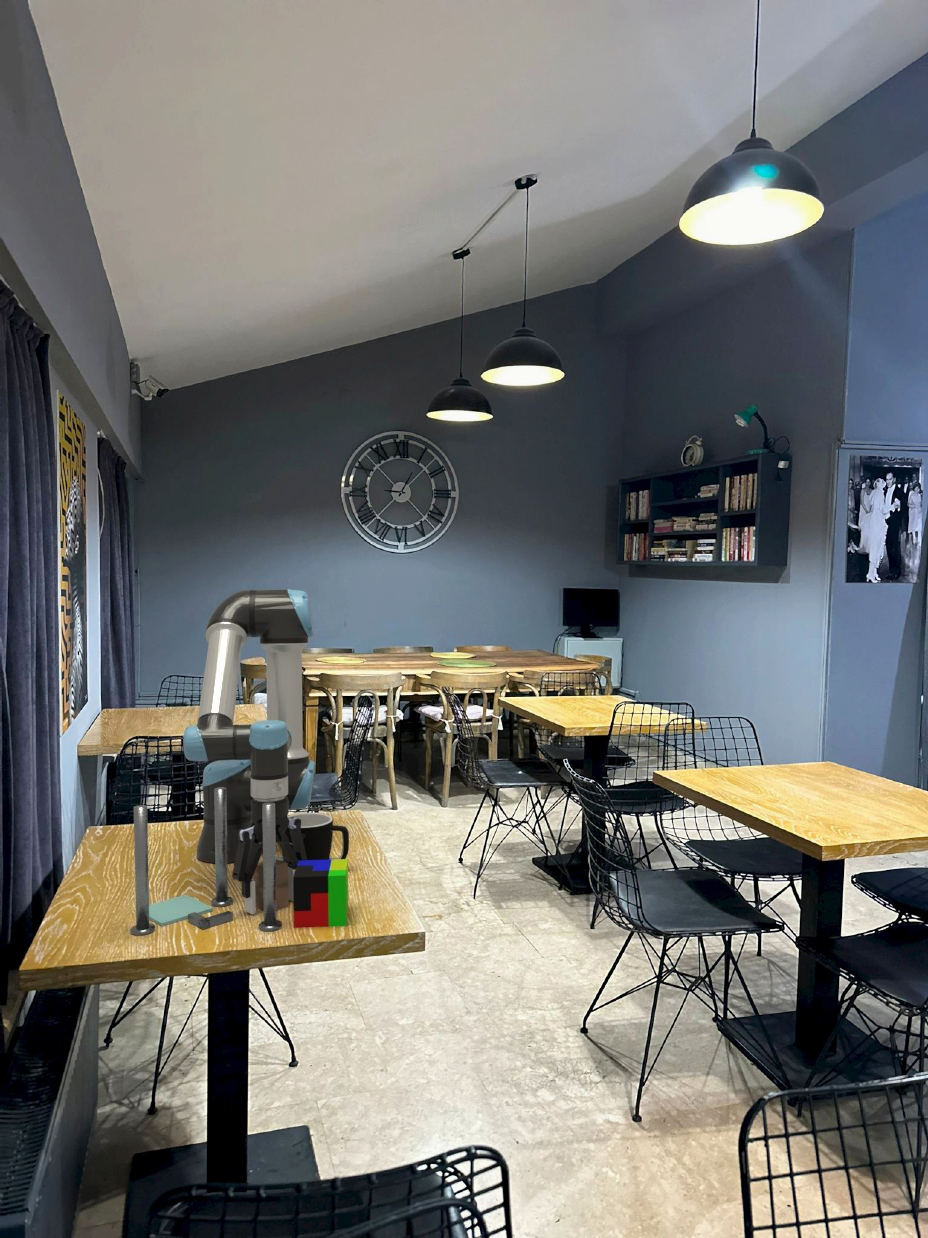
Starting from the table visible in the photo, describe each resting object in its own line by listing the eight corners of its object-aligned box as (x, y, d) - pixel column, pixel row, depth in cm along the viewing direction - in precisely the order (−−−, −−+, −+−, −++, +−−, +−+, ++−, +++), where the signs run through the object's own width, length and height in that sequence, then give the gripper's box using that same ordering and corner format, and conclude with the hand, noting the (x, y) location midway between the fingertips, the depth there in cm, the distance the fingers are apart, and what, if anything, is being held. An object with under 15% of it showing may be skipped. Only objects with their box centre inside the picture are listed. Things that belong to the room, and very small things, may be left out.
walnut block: (253, 907, 178) (253, 863, 178) (274, 900, 182) (274, 858, 181) (267, 913, 174) (266, 869, 174) (288, 906, 178) (287, 863, 178)
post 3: (254, 927, 167) (252, 804, 166) (273, 920, 171) (272, 800, 170) (266, 933, 164) (265, 808, 163) (286, 927, 167) (284, 804, 166)
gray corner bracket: (188, 921, 170) (187, 914, 170) (217, 912, 175) (217, 905, 175) (202, 929, 166) (202, 922, 166) (232, 920, 171) (232, 912, 171)
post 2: (207, 903, 180) (205, 788, 179) (226, 897, 183) (224, 785, 182) (218, 908, 177) (216, 792, 176) (237, 903, 180) (235, 788, 179)
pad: (136, 911, 176) (135, 908, 176) (186, 897, 184) (186, 894, 183) (161, 926, 168) (161, 923, 168) (212, 911, 176) (212, 908, 176)
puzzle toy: (299, 909, 177) (298, 860, 177) (348, 907, 178) (348, 859, 177) (293, 928, 167) (293, 877, 167) (345, 926, 168) (345, 875, 168)
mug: (259, 868, 202) (258, 817, 201) (321, 855, 211) (321, 806, 211) (289, 888, 189) (289, 834, 188) (354, 873, 198) (354, 821, 198)
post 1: (126, 931, 166) (124, 807, 165) (148, 924, 169) (146, 802, 168) (136, 937, 163) (134, 811, 162) (159, 930, 166) (156, 806, 165)
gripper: (231, 810, 167) (233, 926, 168) (324, 791, 182) (325, 896, 183) (211, 803, 172) (213, 915, 173) (303, 785, 187) (304, 888, 188)
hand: (271, 905), depth 178 cm, fingers open, 9 cm apart
